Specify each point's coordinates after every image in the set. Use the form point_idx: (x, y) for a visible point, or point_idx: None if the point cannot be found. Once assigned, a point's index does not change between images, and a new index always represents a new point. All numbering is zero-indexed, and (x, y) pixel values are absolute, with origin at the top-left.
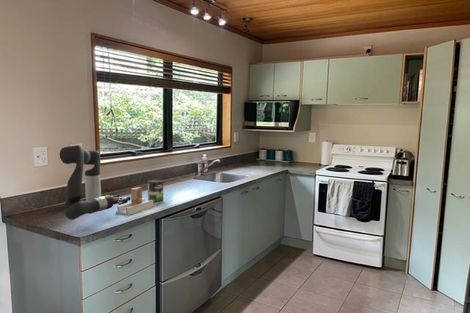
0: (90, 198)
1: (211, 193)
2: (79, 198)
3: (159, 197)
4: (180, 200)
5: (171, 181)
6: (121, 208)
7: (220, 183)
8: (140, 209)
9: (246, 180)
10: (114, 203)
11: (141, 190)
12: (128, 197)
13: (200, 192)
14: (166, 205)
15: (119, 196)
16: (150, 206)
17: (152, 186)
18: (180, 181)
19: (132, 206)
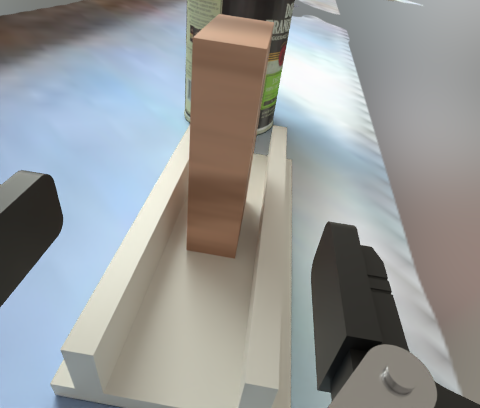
0: None
1: (351, 56)
2: None
3: (274, 96)
4: (326, 100)
5: (135, 4)
6: (119, 331)
7: (291, 18)
8: (288, 256)
9: (330, 12)
10: None
11: (268, 57)
12: (360, 268)
13: (309, 51)
14: (336, 149)
15: (58, 200)
16: (291, 184)
17: (251, 16)
18: (165, 5)
19: (277, 293)
